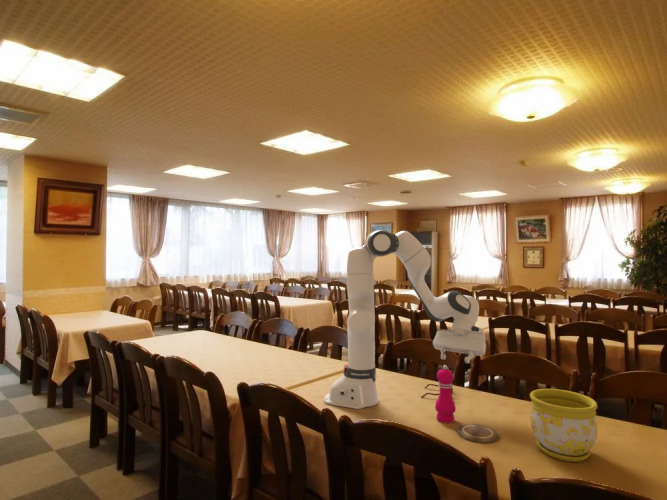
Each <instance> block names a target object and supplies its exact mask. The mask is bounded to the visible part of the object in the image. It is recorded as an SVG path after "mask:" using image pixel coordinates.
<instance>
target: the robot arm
mask: <svg viewBox="0 0 667 500" xmlns="http://www.w3.org/2000/svg"><path fill="white" fill-rule="evenodd" d="M363 241H364V242H363V244H362V245H361V246H356V247H353V248H351V249H350V250H349V252H348V256H347V260H346V261H347V262H346V282H347V283H346V284H347V286H346V288H347V290H346V291H347V302H348V317H347V319H346V321H347V322H346V324H347V325H346V327H347V330H346V331H347V351H348V352H347V353H348V355H347V356H348V358H347V363H345V365H344V366H343V369H342V370H343V371H342V373H343V375H341V376H340V377H339V378H337V379H336V380H335V381H334V382H333V383H332V385H331V386H330V389H329V392H328V393H327V394H326V395H325V396H324V400H323V401H325V402H324V404H327V405H332V406H337V407H344V408H350V409H356V410H360V409H364V408H367V407H373V406H375V405H377V404H379V402H380V400H379V397H378V391H377V386H376V385H377V384H376V381H377V367H376V363H375V361H376V358H375V357H376V356H375V355H376V351H375V350H376V345H375V344H376V342H375V338H376V337H375V335H376V334H375V329H376V328H375V327H376V326H375V324H376V323H375V322H376V313H375V291H374V290H375V289H374V288H375V286H374V285H375V284H374V263H375V262H374V261H375V260H376V258H380V257H385V256H388V255H391V254H394V256H396V257H397V258H398V259H399V261H400V262H401V263H402V264H403V266H404V268H405V269H406V271H407V280H408V281H409V284H410V285H411V287H412V288H413V290H414V292H415V294H416V295H417V296H418V299H419V300H420V301H421V304H422V306H423V307H424V311H425V313H426V315H427V316H428V318H430V319H431V320H432V321H433V322H437V323H440V322H441V323H442V321H444V320H447V319H448V318H451V317H452V318H453V323H452V325H451V329H444V328H441V329H439V330H437V331H436V333H435V336H434V339H433V341H432V346H433V347H434V349H435V350H438V351H440V359H441V360H446V358H447V355H446V353H445V352H446V351H447V352H453V353H460V354H465V355H467V354H468V356H465V357H464V360H463V361H464V363H465V364H470V363H471V362H470V361H471V360H472V359H473V358H474V357H475V356H479V357H480V356H481V357H482V356H484V355H485V354H486V350H487V349H486V348H487V344H486V335H485V332H484V330H483V328H482V327H479V326H477V325H476V324H477V322H478V319H479V315H480V304H479V301H478V300H477V298H475V297H473V296H471V295H463V294H462V293H461V292H459V291H457V290H451V291H448V292H445V293H444V294H442V295H439V296H438V297H437V296H434V294H433V292H432V291H431V290H430V288H429V286H428V284H427V283H426V281H425V280H426V279H425V275H426V274H427V272H428V271H429V269H430V267H431V262H432V258H431V255H430V253H429V251H427V249H426V248H425V246H423V244H422V243H421V242H420V241H419V240H418V239H417V238H416V237H415V236H414V235H413V234H412V233H411V232H410V231H407V230H401V231H397V232H396V233H395V234H394V233H392V232H390V231H387V230H384V229H379V230H378V229H377V230H373V231H372V232H371V231H370V233H369V234H368V235H367V236H366V238H365V240H363Z"/></svg>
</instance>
